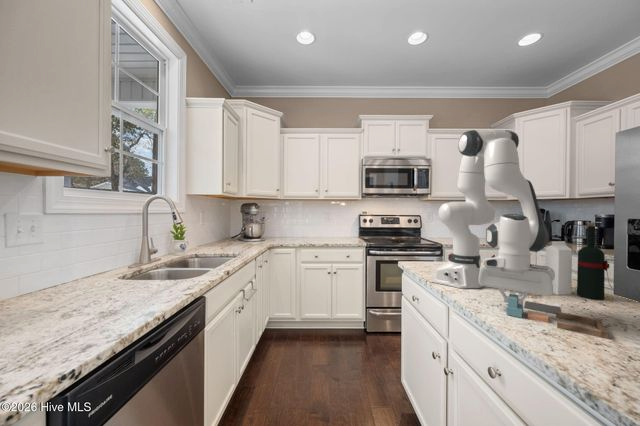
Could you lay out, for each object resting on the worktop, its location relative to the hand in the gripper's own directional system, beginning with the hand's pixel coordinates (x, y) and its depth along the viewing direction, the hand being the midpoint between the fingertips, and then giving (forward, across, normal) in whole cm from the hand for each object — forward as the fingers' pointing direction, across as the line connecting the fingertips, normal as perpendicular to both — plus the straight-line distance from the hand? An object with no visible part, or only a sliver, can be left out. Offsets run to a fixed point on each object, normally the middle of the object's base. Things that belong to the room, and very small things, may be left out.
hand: (513, 303), depth 90 cm
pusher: (+3, 0, 0) cm, 3 cm away
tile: (+4, -6, 0) cm, 8 cm away
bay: (+4, -15, 0) cm, 16 cm away
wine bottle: (+4, -23, -43) cm, 49 cm away
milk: (+4, -12, -42) cm, 44 cm away
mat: (+4, -7, -13) cm, 16 cm away
